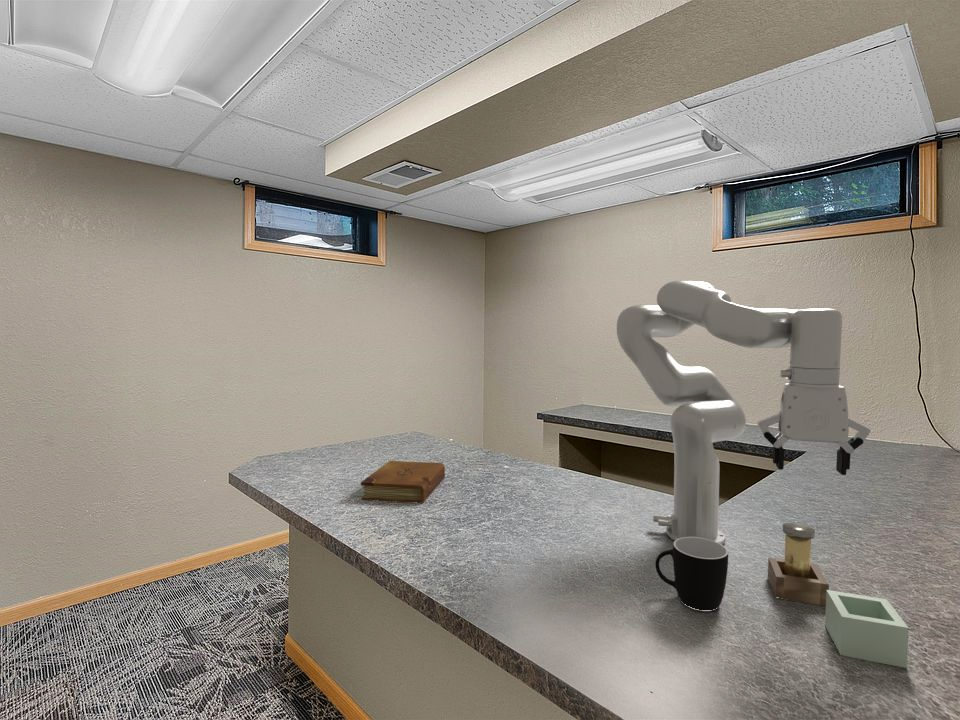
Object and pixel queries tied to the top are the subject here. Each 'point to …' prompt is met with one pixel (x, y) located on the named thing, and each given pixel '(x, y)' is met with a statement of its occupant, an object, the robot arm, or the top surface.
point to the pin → (797, 549)
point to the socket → (866, 628)
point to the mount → (797, 584)
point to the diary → (403, 481)
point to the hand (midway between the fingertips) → (809, 470)
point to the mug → (697, 571)
